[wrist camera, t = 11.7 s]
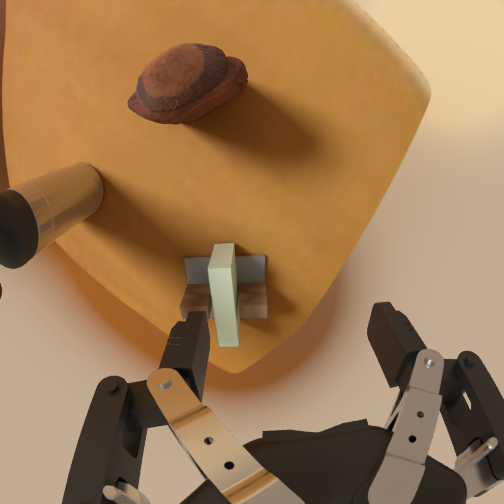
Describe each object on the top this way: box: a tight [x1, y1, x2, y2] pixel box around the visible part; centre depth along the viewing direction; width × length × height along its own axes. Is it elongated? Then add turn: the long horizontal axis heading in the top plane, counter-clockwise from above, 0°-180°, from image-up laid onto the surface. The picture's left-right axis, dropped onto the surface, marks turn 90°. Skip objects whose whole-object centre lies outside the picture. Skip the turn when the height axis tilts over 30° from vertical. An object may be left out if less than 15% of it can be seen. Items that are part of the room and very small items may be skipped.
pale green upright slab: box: [208, 243, 240, 347], centre depth 42 cm, size 3×14×8 cm, turn 2°
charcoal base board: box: [184, 255, 265, 318], centre depth 47 cm, size 13×12×1 cm
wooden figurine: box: [128, 43, 248, 124], centre depth 26 cm, size 12×6×18 cm, turn 119°
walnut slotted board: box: [180, 283, 267, 319], centre depth 44 cm, size 13×2×6 cm, turn 92°
